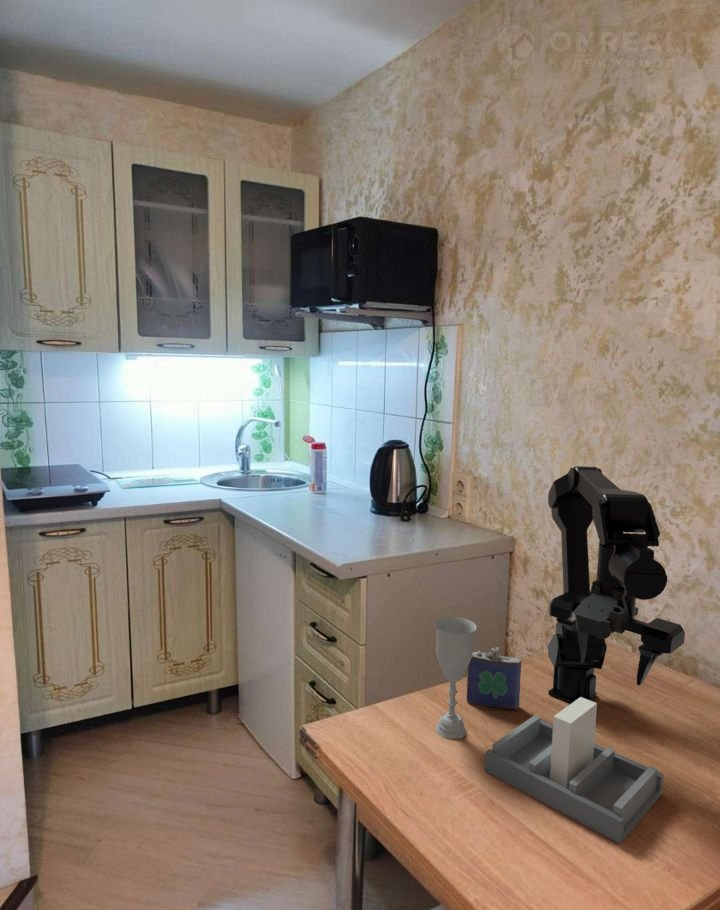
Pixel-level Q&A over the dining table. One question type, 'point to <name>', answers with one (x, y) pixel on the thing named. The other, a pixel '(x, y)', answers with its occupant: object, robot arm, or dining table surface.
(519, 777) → the rack
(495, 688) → the flask
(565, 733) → the white rectangular block
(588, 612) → the robot arm
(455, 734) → the chalice
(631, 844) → the dining table surface
